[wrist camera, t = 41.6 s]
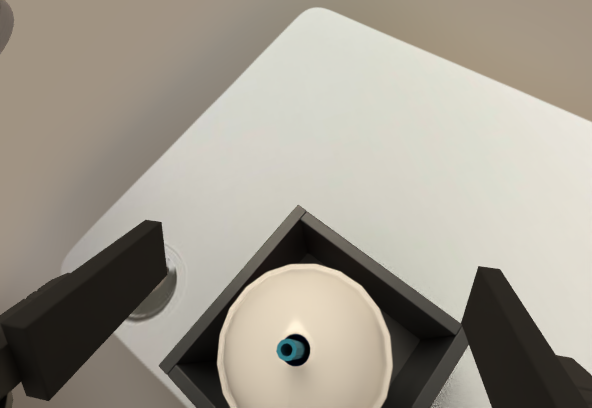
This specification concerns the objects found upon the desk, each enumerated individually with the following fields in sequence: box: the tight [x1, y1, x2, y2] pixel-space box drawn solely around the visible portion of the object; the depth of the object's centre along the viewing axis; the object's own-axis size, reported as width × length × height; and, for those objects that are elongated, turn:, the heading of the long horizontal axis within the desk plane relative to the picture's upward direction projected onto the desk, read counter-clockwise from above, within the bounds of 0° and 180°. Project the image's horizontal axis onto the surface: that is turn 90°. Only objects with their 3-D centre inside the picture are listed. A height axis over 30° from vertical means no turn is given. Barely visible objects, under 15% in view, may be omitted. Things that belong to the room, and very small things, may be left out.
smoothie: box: [217, 264, 393, 408], centre depth 20 cm, size 8×8×20 cm
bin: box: [159, 205, 469, 408], centre depth 25 cm, size 14×14×10 cm
